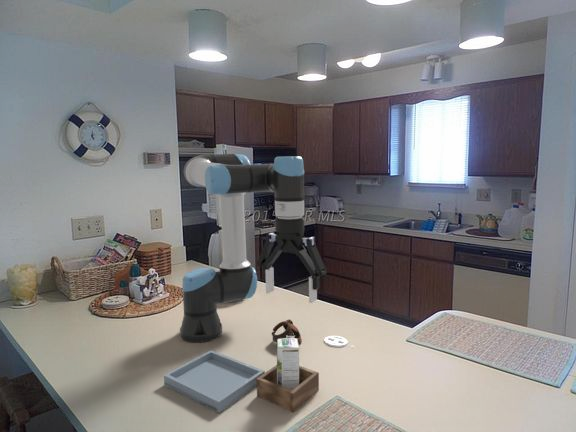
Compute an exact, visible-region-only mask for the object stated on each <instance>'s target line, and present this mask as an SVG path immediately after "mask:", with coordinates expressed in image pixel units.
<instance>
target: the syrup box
mask: <svg viewBox="0 0 576 432" xmlns="http://www.w3.org/2000/svg"><path fill="white" fill-rule="evenodd" d="M276 346H277V348H276V350H277V351H276V352H277V353H276V354H277V355H276V365H277V385H280V386H282V387H285V388H287V389H290V390H294V389H295V388H296V387H297V386H299V366H300V343H299V341H298V338H295V337H294V338H293V337H286V338H282V339H277V343H276Z"/></svg>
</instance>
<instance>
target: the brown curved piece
mask: <svg viewBox="0 0 576 432" xmlns="http://www.w3.org/2000/svg"><path fill="white" fill-rule="evenodd" d="M280 328H284V331H283V332H281V333H280V334H276V332H277V331H278V330H279V329H280ZM271 336H272V342H273V343H276V344H277V339H282V338H287V337H294V338H296V339H298V343H299V345H302V342H303V339H302V337H301V333H300V331H299V329H298V327H296V325H294V322H293V320H292V319H287V320H286V319H285V320H284V321H283V320H282V321H281V322H279V323H277V324H276V325H275V326H274V327H273V329H272V332H271Z"/></svg>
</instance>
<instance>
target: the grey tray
mask: <svg viewBox="0 0 576 432" xmlns="http://www.w3.org/2000/svg"><path fill="white" fill-rule="evenodd" d="M264 373H266V372H265V370H263V369H260V368H258V367H255V366H253V365H251V364H248V363H246V362H243V361H240V360H238V359H235V358H232V357H229V356H227V355H224V354H223V353H219V352H217V351H214V350H212V349H211V350H208V351H207V352H205V353H202V354H201V355H200V356H197V357H196V358H194V359H192V360H190V361H188V362H187V363H184V364H182V365H180V366H179V367H177V368H175V369H173V370H171V371H169V372H167V373H166V374H164V375H163V384H164V386H165V387H168V388H169V389H172V390H173V391H175V392H177V393H179V394H181V395H183V396H185V397H187V398H188V399H191V400H193V401H194V402H196V403H199V404H201V405H202V406H205V407H207V408H208V409H210V410H212V411H214V412H216V413H218V414H220V413H221V412H222V413H223V411H224V410H226V409H227V408H230V406H231V405H233V404H234V403H236V402H237V401H239V400H240V399H242V398H243V397H244V396H246V395H247V394H249V393H250V392H252V391H253V390H254V389H255V388H256V389H257V378H258V377H260V376H261V375H263V374H264Z"/></svg>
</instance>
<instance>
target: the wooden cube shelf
mask: <svg viewBox="0 0 576 432" xmlns="http://www.w3.org/2000/svg"><path fill="white" fill-rule="evenodd" d="M319 376H320V374H319V372H318V371H315V370H312V369H309V368H307V367H304V366H301V365H299V386H297V387H296V388H295V389H294V390H290V389H287V388H285V387H282V386H280V385H277V364H276V365H274V366H273V367H272V368H270V369H268V370H267V371H266V372H265V373H264V374H263V375H261V376H260V377H258V378H257V387H256V396H257V397H259V398H260V399H263V400H265V401H267V402H270V403H271V404H274V405H276V406H279V407H281V408H283V409H285V410H287V411H290V412H291V413H294V412H296V411H297V410H298V409H299V408H300V407H301V406H302V405H304V403H306V401H308V400H309V399H310V398H311V397H312V396H314V394H316V393H317V392H318V391H319V390H320V385H319V384H320V383H319V382H320V381H319V380H320V379H319V378H320V377H319Z"/></svg>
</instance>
